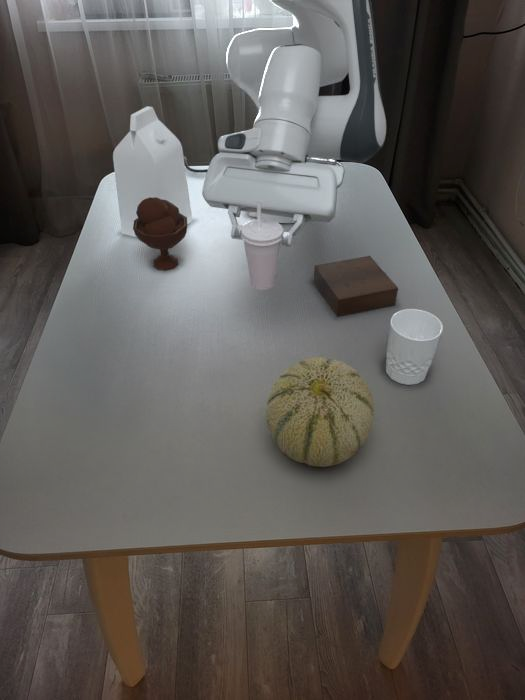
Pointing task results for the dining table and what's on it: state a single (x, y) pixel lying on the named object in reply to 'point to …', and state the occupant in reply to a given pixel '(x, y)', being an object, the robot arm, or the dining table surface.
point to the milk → (149, 168)
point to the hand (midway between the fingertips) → (260, 241)
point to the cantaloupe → (320, 412)
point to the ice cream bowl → (160, 229)
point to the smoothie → (262, 249)
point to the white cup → (412, 345)
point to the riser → (354, 285)
